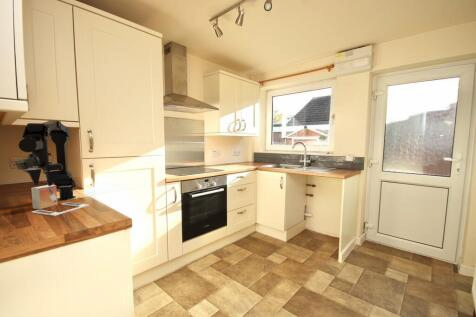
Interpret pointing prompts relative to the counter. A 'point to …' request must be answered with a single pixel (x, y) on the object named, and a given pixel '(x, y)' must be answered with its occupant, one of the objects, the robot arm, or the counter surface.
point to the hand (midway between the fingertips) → (42, 185)
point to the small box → (44, 196)
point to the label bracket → (60, 212)
